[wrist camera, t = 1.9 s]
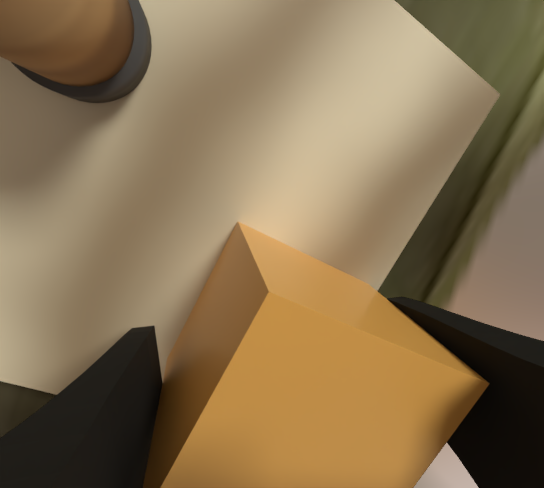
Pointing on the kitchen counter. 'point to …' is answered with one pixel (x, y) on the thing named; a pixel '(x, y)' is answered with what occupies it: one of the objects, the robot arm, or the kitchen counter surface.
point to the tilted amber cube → (301, 381)
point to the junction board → (205, 155)
